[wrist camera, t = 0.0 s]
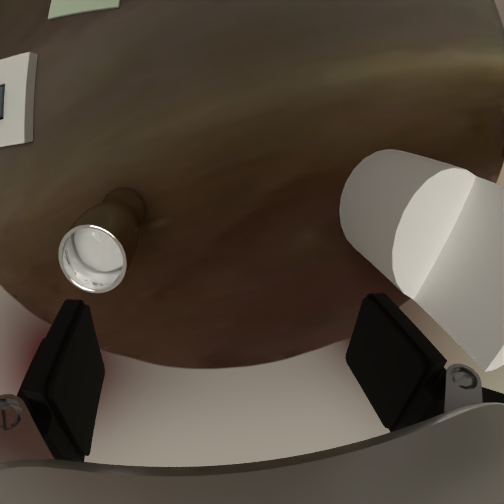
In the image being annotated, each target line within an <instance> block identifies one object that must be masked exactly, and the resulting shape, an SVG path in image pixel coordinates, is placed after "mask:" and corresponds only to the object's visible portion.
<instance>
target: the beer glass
mask: <svg viewBox="0 0 504 504" xmlns="http://www.w3.org/2000/svg"><path fill="white" fill-rule="evenodd" d="M145 214H146V208H145V204H144V201H143V199H142V198H141V196H140V195H139V194H138V193H136V192H135V191H133V190H131V189H128V188H118V189H115V190H113V191H111V192H110V193H108V194H107V195H106V197H105V198H104V200H103V202H102V203H100V204H97V205H95V206H93V207H91V208H90V209H88V210H87V211H85V212H84V213H83V214H82V215H81V216H80V217H79V218H78V219H77V220H76V221H75V222H74V223H73V225H72V226H71V228H70V229H69V231H68V232H67V233H66V234H65V236H64V237H63V239H62V241H61V243H60V246H59V262H60V266H61V268H62V271H63V272H64V274H65V276H66V277H67V278H68V279H69V281H70V282H71V283H73V284H74V285H75V286H76V287H78V288H80V289H82V290H84V291H87V292H91V293H103V292H107V291H110V290H112V289H113V288H115V287H116V286H117V285H118V284H119V283H120V282H121V281H122V279H123V278H124V275H125V273H126V271H127V269H128V268H129V266H130V264H131V262H132V259H133V257H134V254H135V251H136V248H137V242H138V228H139V227H140V226H141V225H142V223H143V221H144V219H145Z"/></svg>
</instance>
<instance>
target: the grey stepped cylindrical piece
mask: <svg viewBox="0 0 504 504" xmlns="http://www.w3.org/2000/svg"><path fill="white" fill-rule="evenodd" d="M339 213H340V221H341V227H342V229H343V232H344V234H345V237H346V239H347V240H348V241H349V242H350V243H351V245H352V246H353V247H354V248H355V249H356V250H357V251H358V252H359V253H361V254H362V255H363V256H364V257H365V258H366V259H367V260H368V261H369V262H371V263H372V264H373V265H374V266H375V267H376V268H377V269H378V270H379V271H380V272H381V273H383V274H384V275H385V276H386V277H387V278H388V279H389V280H390V281H391V282H392V283H393V284H394V285H395V286H396V287H398V288H399V289H400V290H401V291H402V292H403V293H404V294H405V295H407V296H409V297H410V298H412V299H413V300H415V301H416V302H417V303H418V304H419V305H420V306H421V307H422V308H423V309H424V310H425V311H426V312H427V313H428V314H429V315H430V316H431V317H432V318H433V319H434V320H435V321H436V322H437V323H438V324H439V325H440V326H441V327H442V328H443V329H444V330H445V331H446V332H447V333H448V334H449V335H450V336H451V337H452V338H453V339H454V340H455V341H456V342H457V343H458V344H459V345H460V346H461V347H462V348H463V349H464V350H465V352H466V353H467V354H468V355H469V356H470V357H471V358H472V359H473V360H474V361H475V362H476V363H477V364H478V365H479V366H480V368H481V369H482V370H483V371H484V372H486V371H491V370H495V369H496V368H498V367H500V366H502V365H504V187H503V186H500V185H498V184H495V183H493V182H490V181H488V180H485V179H482V178H479V177H477V176H475V175H473V174H472V173H470V172H469V171H468V170H466V169H463V168H460V167H457V166H453V165H450V164H447V163H444V162H440V161H437V160H434V159H430V158H427V157H423V156H419V155H416V154H412V153H408V152H404V151H400V150H393V149H387V150H382V151H377V152H375V153H373V154H371V155H370V156H368V157H366V158H364V159H363V160H362V161H361V162H360V163H359V164H358V165H357V166H356V167H355V168H354V170H353V171H352V173H351V174H350V176H349V178H348V179H347V181H346V183H345V186H344V189H343V192H342V195H341V200H340V210H339Z"/></svg>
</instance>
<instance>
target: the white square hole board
mask: <svg viewBox="0 0 504 504" xmlns="http://www.w3.org/2000/svg"><path fill="white" fill-rule="evenodd" d="M37 58H38V54H35V53H32V52H27V53H23V54H19V55H15V56H12V57H8V58H5V59H2V60H0V87H5V94H4V117H3V119H2V120H0V147H3V146H8V145H15V144H21V143H27V142H31V141H33V108H34V89H35V77H36V67H37Z"/></svg>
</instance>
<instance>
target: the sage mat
mask: <svg viewBox="0 0 504 504" xmlns="http://www.w3.org/2000/svg"><path fill="white" fill-rule="evenodd" d="M119 6H120V0H52V1H51V6H50V10H49V15H48V19H49V20H51V19H55V18H60V17H65V16H70V15H75V14H80V13H86V12H93V11H99V10H107V9H115V8H119Z"/></svg>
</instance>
